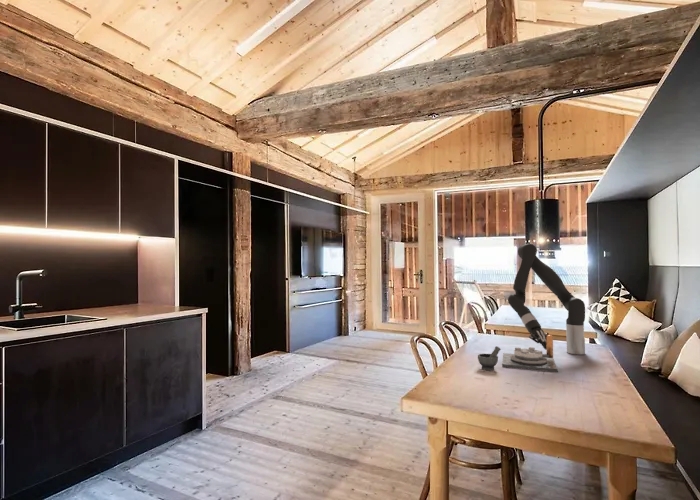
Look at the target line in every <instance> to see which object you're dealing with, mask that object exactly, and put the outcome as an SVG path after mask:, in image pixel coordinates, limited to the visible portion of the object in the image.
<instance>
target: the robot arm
mask: <svg viewBox="0 0 700 500" xmlns="http://www.w3.org/2000/svg"><path fill="white" fill-rule="evenodd" d="M537 253H538V249H537V246H536V245H535V244H532V243H526V244H523V245H521V246H519V247H518V249H517V255H518V257H519V258H520V259H521V263H520V266H519V268H518V271H517V273H516V275H515V278H514V281H513V287H512V289H513V291H514V292H515V293H512V294H510V295H509V296H508V297H507V302H508V305H509V306H510V307H511V308H512V310H513V311H514V312H516V314H517V315H518V317H519V318H520V319H521V322H522V324H523V325H524V327H525V329H526V331H527V332H528V333H529V334H530V335H529V336H528V338H529V339H531V340H532V341H533V342H535V343H536V344H540V345H541V346H542V348H544V350H546V335H550V333H549V332H545V331H544V330H543V329H542V326H541V324H540V322H539V321H538V320H537V318H536V317H535V315H534V314H533V313H532V311H531V310H530V308H529V307H527V306H526V305H525V304H526V288H527V285H528V280H529V276H530V273H531V272H530V271H531V270H532V271H533V272H534V273H535V275H536V276H537V277H538V278H539V279H540V281H541V282H542V283H543V284H544V286H546V287H547V288H548V289H549V291H551V292H552V293H553V294H554V296H556V297H557V299H558V300H559V301H560V303H561V304H562V306H563V308H564V309H565V310H566V311H567V318H566V320H565V322H566V324H565V327H566V332H565V334H566V337H565V338H566V353H568V354H572V355H586V338H585V320H586V305H585V302H584V301H583V300H582V299H580V298H577V297H575V296H574V295H573V294H572V293H571V292H570V291H569V289H568V288H567V287H566V286H565V284H564V281H563V280H562V278H561V277H560V276H559V274H558V273H557V272H556V271H555V270H554V269H553V268H551V267H550V266H549V265H548V264H546V263H545V262H543V261H542V260H541V259H540V258H539V257H538V256H537ZM546 351H547V350H546Z"/></svg>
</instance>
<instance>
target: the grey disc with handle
mask: <svg viewBox="0 0 700 500" xmlns="http://www.w3.org/2000/svg"><path fill="white" fill-rule="evenodd" d="M513 351H514V353H513V354H514V356H515V357H516V358H519V359H523V360H532V361H537V360H542V359H543V357H547V358H553V359H554V336H553V335H551V334H549V335H546V353H543V351H542V350H537V349H535V347H532V346H530V347H528V348H521V347H514V350H513Z"/></svg>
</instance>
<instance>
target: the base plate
mask: <svg viewBox="0 0 700 500" xmlns="http://www.w3.org/2000/svg"><path fill="white" fill-rule="evenodd" d="M501 363H502V364H501V365H502V368H509V369H510V368H511V369H520V370H530V371H542V372H551V373H559V369H558V366H557V363H556V361H555V358H554V357H553V358H547V357H543V359H542V360H537V361H532V360H523V359H519V358H516V357H515V356H514V353H505V352H504V353H503V354H502V362H501Z"/></svg>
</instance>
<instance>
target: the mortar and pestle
mask: <svg viewBox="0 0 700 500" xmlns="http://www.w3.org/2000/svg"><path fill="white" fill-rule="evenodd" d="M500 351H501V348H500V347H499V346H495V347H494V349H493V351H492V352H491V353H478V355H477V360H478V364H479V365H481V370H483V371H486V370H487V372H493V370H494V371H495V366H496V365H497V363H498V362H499V360H498V359H499V356H498V354H499V352H500Z"/></svg>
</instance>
